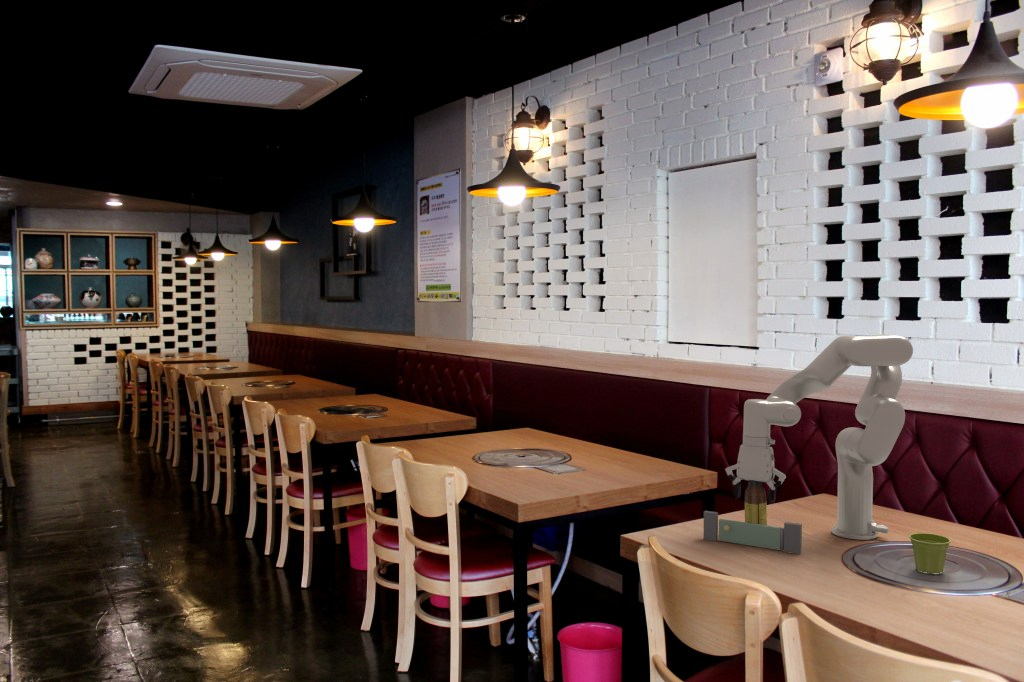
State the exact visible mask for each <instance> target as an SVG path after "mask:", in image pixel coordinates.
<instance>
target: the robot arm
mask: <svg viewBox="0 0 1024 682" xmlns="http://www.w3.org/2000/svg"><path fill="white" fill-rule="evenodd" d="M913 353H914V348H913V345H912V342H911V341H910V340H908V339H907V338H906V337H904V336H900V335H892V334H891V335H889V334H876V335H871V336H855V335H841V336H838V337H836V338H835V339H833V340H832V342H830V343H829V345H827V346H826V347H825V348H824V350H823V351H821V352H820V354H818V355H817V356H816V357H815V359H813V360H812V362H810V363H809V364H808V365H807V366H806V367H805V368H804V369H802V370H801V371H799V372H797V373H795V374H794V375H792V376H791V377H790V378H788V379H786V380H785V381H784V382H782V383H781V384H779V386H778V387H776V389H775V390H773V391H772V392H771V393H770V394H769V395H768V396H767V398H766V399H761V398H760V399H759V398H755V399H754V398H751V399H750V398H748V399H747V400H745V402H744V405H743V427H742V429H743V431H742V444H741V445H740V446H739V451H738V455H737V463H736V464H734V465H730V466H727V467H726V468H725V469H724V470H725V472H726V474H727V478H728V479H729V480H730V481H731V483H732V485H733V495H734V499H739V498H741V495H742V492H741V491H742V490H741V489H742V484H741V481H742V480H744V481H748V480H753V481H757V482H762V483H766V484H767V486H768V487H769V489H768V501H767V504H772V503H774V501H775V500H776V495H777V494H776V490H777V488H778V487H780V486H781V485H782V484H783V482H784V481H785V479H786V478H787V476H786V474H785V473H784V472H782V471H780V470H778V469H777V468H775V456H774V455H775V454H774V449H773V447H772V446H771V445H776V444H775V443H776V440H775V439H772V437H771V425H775V426H780V427H792V426H794V425H796V424H797V423H799V421H800V419H801V417H802V411H801V408H800V407H799V405H798V404H797V403H799V402H800V401H801V400H803V399H805V398H806V397H808V396H810V395H811V396H812V395H814V394H818V393H820V392H821V393H822V392H823V391H826V390H828V389H829V388H831V386H832V385H833V384H834V383H835V382H836V381H837V380H838V379H839V378H841V376H842V375H843V374H845V372H846V371H847V370H848V369H849V368H851V367H852V366H854V367H870V369H871V370H870V371H871V373H870V377H869V380H868V383H867V384H866V386H865V388H864V391H863V393H862V395H861V396H860V399H859V401H858V403H857V406H856V408H855V410H854V411H855V412H854V415H855V418H856V420H857V421H858V422H859V423H860V424H862V425H864V426H865V428H864V429H863V428H860V427H856V426H855V427H854V426H853V427H847V428H844V429H843V430H841V431H840V432H839V433H838V434H837V437H836V438H835V453H836V459H837V461H836V462H837V505H836V506H837V507H836V508H837V512H836V513H837V517H836V518H837V520H836V521H837V522H836V524H837V525H834V526H832V527H831V530H830V531H831V533H832V535H835V536H837V537H840V538H845V539H851V540H859V541H861V540H862V541H867V540H874V539H876V538H878V536H879V533H882V534H889V530H890V529H889V528H890V527H889V526H886V524H885V525H884V524H877V523H876V522H875V520H876V519H875V518H874V519H873V497H874V495H873V493H874V492H873V491H874V490H873V489H874V474H873V473H874V472H873V467H875V466H879V465H881V464H883V463H884V462H885V461H886V460H887V459H888V457H889V455H890V454H891V452H892V450H893V448H894V446H895V444H896V442H897V439H898V438H899V436H900V434H901V432H902V429H903V428H904V425H905V421H906V412H905V408H904V406H903V405H902V403H901V402H899V401H898V400H896V399H897V396H898V394H899V392H900V389H901V386H902V382H903V372H902V368H901V366H902V365H904V364H906V363H908V362H909V361H910V360H911V359H912V356H913ZM734 470H736V476H735V475H734V474H733V471H734ZM775 476H777V477H778V480H777V481H776V482H775V481H774V479H775Z"/></svg>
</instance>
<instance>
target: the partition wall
mask: <svg viewBox="0 0 1024 682" xmlns="http://www.w3.org/2000/svg"><path fill="white" fill-rule="evenodd" d="M802 526H803V524H802V523H798V522H792V521H791V522H790V521H785V522H784V524H783V528H784V550H783V552H784V551H785V552H784V553H787V552H791V553H790V554H794V553H797V554H796V555H801V554H802V545H803V544H802V543H803V542H802V541H803V540H802V539H803V537H802V536H803V535H802V533H803V531H802V530H803V527H802ZM702 538H703V540H704V541H705V540H706V541H711V542H717V541H719V512H717V511H709V510H704V511H703V537H702Z"/></svg>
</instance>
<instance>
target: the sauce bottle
mask: <svg viewBox="0 0 1024 682" xmlns="http://www.w3.org/2000/svg"><path fill="white" fill-rule="evenodd" d="M767 504H768V501H767V491H766V490H765V488H764V486H763V482H757V481H753V480H747V487H746V489H745V491H744V522H746V523H753V524H760V525H767V526H768V509H767V507H768V506H767Z"/></svg>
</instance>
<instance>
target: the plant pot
mask: <svg viewBox="0 0 1024 682" xmlns="http://www.w3.org/2000/svg"><path fill="white" fill-rule="evenodd" d="M908 538H909V539H910V544H911V545H912V550H913V557H914V563H915V564H914V566H915V570H916V569H917V570H919V571H922V572H927V573H940V572H943V573H944V569H945V565H946V564H945V563H946V557H947V553H948V551H947V550H948V549H949V546H950V544H951V542H952V540H951V539H950V538H949V537H947V536H943V535H941V534H935V533H929V532H927V533H926V532H916V533H915V532H914V533H911V534H909V535H908ZM917 570H916V571H917Z"/></svg>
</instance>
